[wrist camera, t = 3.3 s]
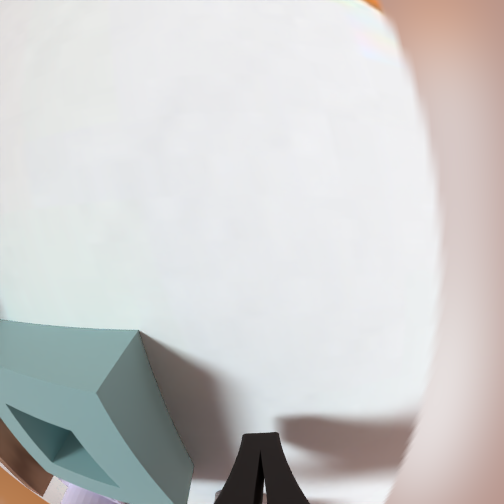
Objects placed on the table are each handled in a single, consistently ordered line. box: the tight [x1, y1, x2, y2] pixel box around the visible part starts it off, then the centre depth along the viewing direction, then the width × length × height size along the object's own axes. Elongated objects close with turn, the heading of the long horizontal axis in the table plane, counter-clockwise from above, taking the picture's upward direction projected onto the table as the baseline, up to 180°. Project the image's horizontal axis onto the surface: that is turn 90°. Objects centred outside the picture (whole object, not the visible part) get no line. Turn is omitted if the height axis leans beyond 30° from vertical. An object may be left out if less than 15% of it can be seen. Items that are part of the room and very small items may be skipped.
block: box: [0, 319, 194, 504], centre depth 9 cm, size 10×10×4 cm
